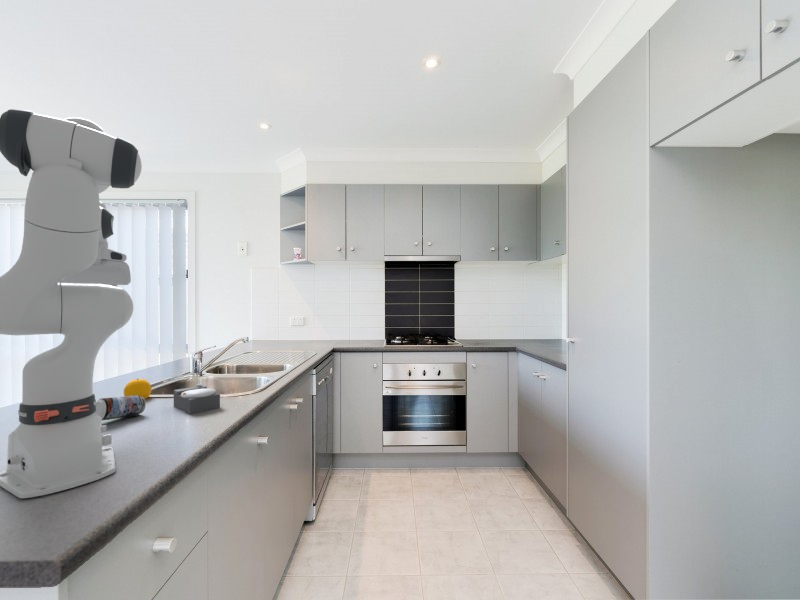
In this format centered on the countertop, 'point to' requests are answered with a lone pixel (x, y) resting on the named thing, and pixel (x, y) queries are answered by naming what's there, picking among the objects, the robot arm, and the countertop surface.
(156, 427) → the countertop surface
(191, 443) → the countertop surface
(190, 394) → the body block
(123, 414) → the beverage can
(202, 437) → the countertop surface
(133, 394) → the apple
